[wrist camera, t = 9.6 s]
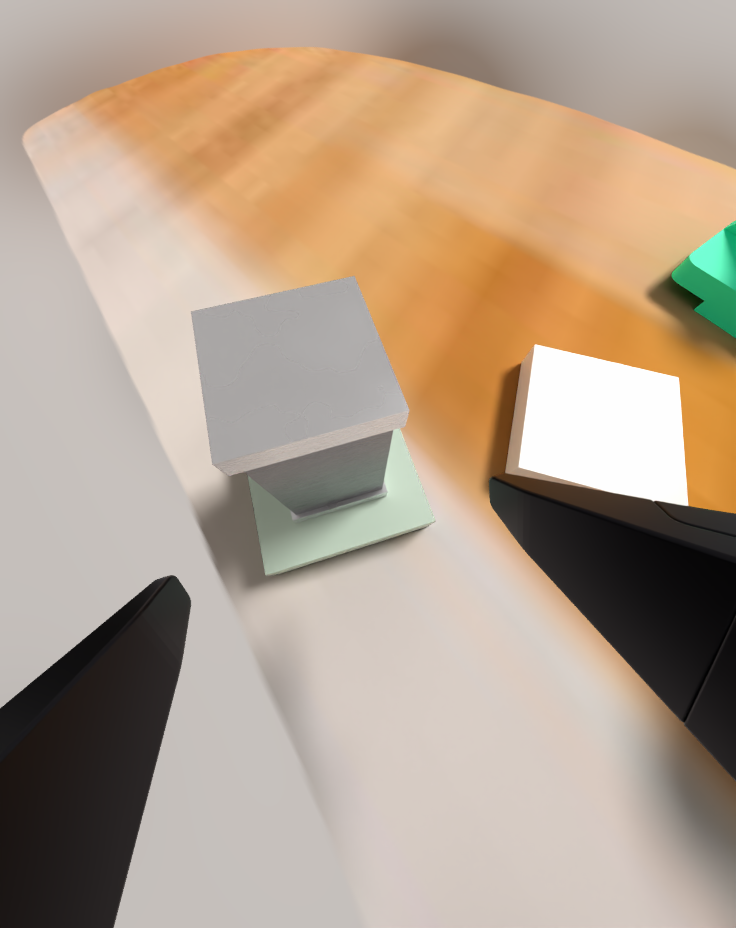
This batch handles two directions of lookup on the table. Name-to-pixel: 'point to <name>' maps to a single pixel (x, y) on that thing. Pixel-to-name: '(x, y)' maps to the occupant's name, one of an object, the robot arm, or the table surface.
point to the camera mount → (713, 278)
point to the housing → (300, 395)
